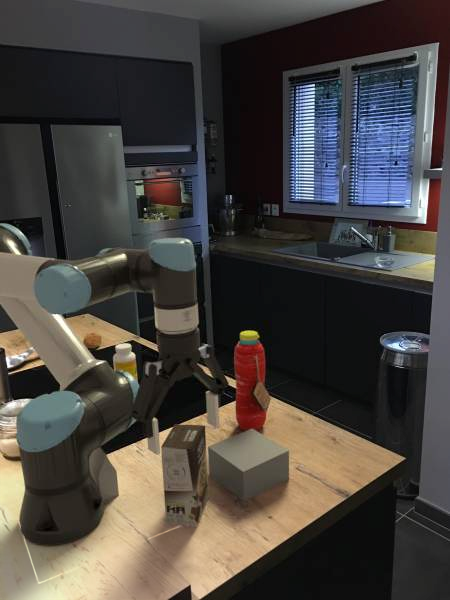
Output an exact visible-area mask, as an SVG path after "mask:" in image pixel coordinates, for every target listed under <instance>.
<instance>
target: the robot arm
mask: <svg viewBox="0 0 450 600" xmlns="http://www.w3.org/2000/svg"><path fill="white" fill-rule="evenodd" d="M30 248H31V244H30V242H29V240H28V239H27V236H26V235H24V233H22V231H21V230H20V229H19V228H17V227H15V226H13V225H12V224H9V223H0V306H1V307H2V308H3V309H4V311H5V313H6V314H7V315H8V317H9V318H10V319H11V320H12V322H13V323H14V324H15V326H16V327H17V328H18V330H19V332H20V333H21V334H22V335H23V336H24V338H25V340H26V341H27V342H28V343H29V345H30V346H31V348H32V349H33V350H34V352H35V353H36V354H37V355H38V357H39V358H40V359H41V361H42V362H43V364H44V365H45V367H46V368H47V369H48V371H50V373H51V374H52V376H53V377H54V378H55V380H56V381H57V383H59V385H60V386H59V390H57V391H53V392H51V393H50V394H48V393H45V394H42V395H39V396H37V397H36V398H35V397H34V398H33V399H32V400H30V401H29V402H27V403H26V404H25V405H23V407H22V408H21V409H20V411H19V412H18V414H17V416H16V421H15V426H16V436H15V438H16V443H17V445H18V450H19V456H20V465H21V469H22V477H23V482H24V494H23V498H22V502H21V508H20V511H19V512H20V513H19V525H20V527H19V528H20V532H21V535H23V537H24V538H25V539H26V540H28V541H29V542H32V543H35V544H37V545H44V546H46V545H47V546H53V545H61V544H66V543H69V542H73V541H74V540H77V539H79V538H81V537H83V536H85V535H87V534H89V533H90V532H91V531H92V530H94V529H95V528H96V527H97V526H98V524H99V523H100V522H101V521H102V518H104V513H105V506H104V501H103V498H102V495H101V493H100V491H99V489H98V487H97V485H96V483H95V481H94V479H93V478H92V476H91V474H90V466H89V458H90V455H91V453H92V452H93V451H94V450H96V449H97V448H99V447H100V446H101V447H102V446H103V445H105V444H106V443H107V442H109V441H110V440H112V439H114V438H115V437H116V436H118V435H119V434H121V433H124V432H126V431H127V430H128V429H129V428H130V427H131V425H133V424H135V422H140V423H141V426H142V434H143V436H144V437H146V440H147V449H148V450H149V451H150V452H152V453H153V454H155V455H156V456H157V455H160V454H161V447H160V445H161V444H160V436H159V435H160V433H159V431H160V430H159V421H158V419H157V418H156V417H155V416H156V415H157V413H158V411H159V409H160V406H161V405H162V403H163V402H164V399H165V397H166V395H167V393H168V392H169V390H170V388H171V387H173V386H174V384H175V382H178V381H179V382H180V381H181V380H183V379H185V378H190V377H192V375H194V377H195V378H196V379H198V381H200V382H201V383H202V384H203V385H204V386H205V387H206V388H208V389H209V390H208V391H205V399H206V401H205V402H206V403H205V404H206V419H207V424H209V425H210V426H212V427H214V428H219V427H220V412H219V411H220V410H219V409H220V408H221V406H222V403H221V400H222V399H221V396H222V395H224V394H225V388H228V387H229V385H230V383H229V380H228V379H227V377H226V375H225V374H224V371H223V369H222V367H221V366H220V364H219V362H218V359H216V356H215V352H214V351H215V349H214V347H213V345H209V344H205V343H201V337H200V336H201V335H200V328H199V327H198V325H199V323H200V320H199V306H198V305H199V304H198V297H197V296H198V295H197V269H196V268H197V262H196V258H195V249H194V248H195V247H194V244H193V242H192V241H191V240H190V239H188V238H183V237H165V238H157V239H154V240H151V242H150V243H149V247H148V248H149V249H134V248H124V247H115V248H113V247H112V248H111V247H110V248H104V249H101V250H100V251H99V252H98V253H97V254H96V255H95V256H90V257H86V258H82V259H78V260H68V259H59V258H58V259H57V258H51V257H43V256H37V255H36V256H34V255H33V251H32V250H30ZM132 292H134V293H135V292H137V293H145V294H152V299H153V306H154V308H153V309H154V323H155V324H154V325H155V328H156V329H157V330H156V332H155V334H156V336H155V337H156V347H157V352H158V355H159V356H158V360H157V361H154V362H149V361H145V362H143V365H142V377H141V380H140V383H139V382H137V381H136V379H135V378H134V377H133V376H132V375H131V374H130V373H128V372H124V371H123V370H115V371H114V368H112V366H111V365H110V364H109V363H108V362H107V360H103V359H102V360H100V359H96V358H95V356H93V354H92V353H91V352H90V350H89V349H88V348H86V346H85V345H84V343H83V341H82V339H80V337H79V336H78V335H77V333H76V332H75V331H74V329H73V328H72V327H71V325H70V324H69V323H68V322H67V320H66V319H65V317H64V316H63V315H64V314H69V313H70V314H71V313H75V312H78V311H80V310H82V309H84V308H87V307H90V306H93V305H95V304H98V303H100V302H103V301H106V300H110V299H113V298H115V297H118V296H121V295H124V294H126V293H132ZM201 358H202V360H203V362H204V364H205V366H206V367H207V370H208V371H209V373H210V375H211V376H212V377H210V375H208V374H207V373H206V371H205V370H204V369H203V368H202V367H201V366H200V365H199V364H198V363H199V361H200V359H201ZM166 377H167V378H166Z"/></svg>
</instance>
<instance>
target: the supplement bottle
mask: <svg viewBox="0 0 450 600" xmlns="http://www.w3.org/2000/svg"><path fill="white" fill-rule="evenodd" d="M114 349H115V352H116V353H114V354H113V356H112V361H113V371H115V370H123V371H124V372H128V373H130V374H131V375H132V376H133V377H134V378H135V379H136V381H137V382H138V381H139V380H138V372H137V361H136V360H137V359H136V354H135V352H132V345H131V344H130V343H125V342H124V343H119V344H116V345H115V348H114ZM138 383H139V382H138Z"/></svg>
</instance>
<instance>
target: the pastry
mask: <svg viewBox="0 0 450 600" xmlns="http://www.w3.org/2000/svg"><path fill="white" fill-rule="evenodd" d="M82 342H83V344H84V345H85V346H86V348H87V349H88V348H90V349H97V348H96V347H98V346H99V345H100V344H101V345H102V342H103V341H102V337H101V335H100V334H98V333H96V332H91V333H89V334H87V335H85V337H84V339H83V341H82ZM101 345H100V346H101ZM100 346H99V347H100ZM99 347H98V348H99Z"/></svg>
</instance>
